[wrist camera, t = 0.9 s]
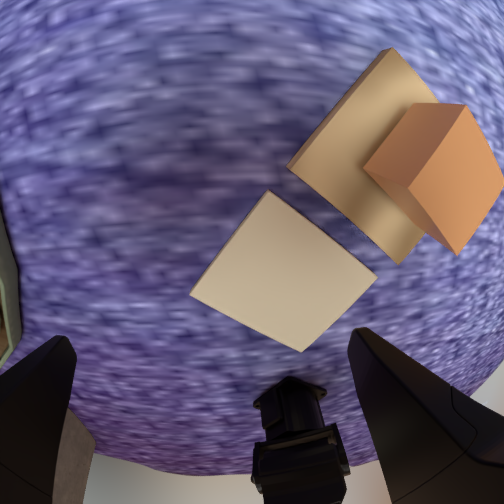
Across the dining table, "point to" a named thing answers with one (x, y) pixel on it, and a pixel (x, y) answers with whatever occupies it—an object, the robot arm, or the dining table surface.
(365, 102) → the post stand
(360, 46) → the dining table surface
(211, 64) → the dining table surface
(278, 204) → the pad
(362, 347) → the robot arm
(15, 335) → the tea set
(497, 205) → the dining table surface
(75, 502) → the hip flask
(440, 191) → the orange cube
